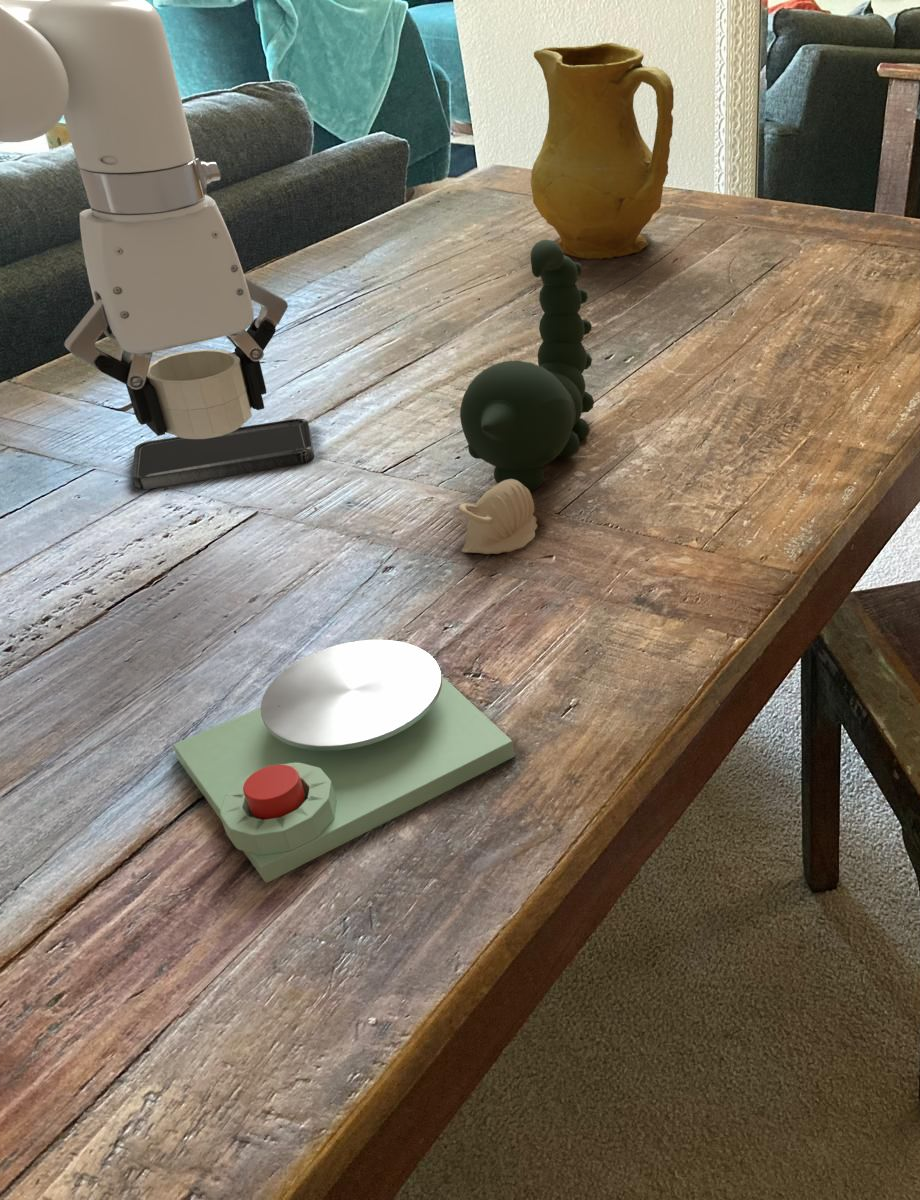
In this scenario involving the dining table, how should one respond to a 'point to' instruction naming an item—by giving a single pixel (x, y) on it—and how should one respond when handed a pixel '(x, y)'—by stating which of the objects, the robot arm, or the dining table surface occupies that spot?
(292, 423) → the phone
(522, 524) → the decorative ornament
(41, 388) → the dining table surface
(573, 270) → the toy figurine
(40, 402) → the dining table surface
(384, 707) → the scale pan
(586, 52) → the pitcher
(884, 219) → the dining table surface
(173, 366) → the bowl
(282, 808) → the tare button
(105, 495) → the dining table surface
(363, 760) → the scale
